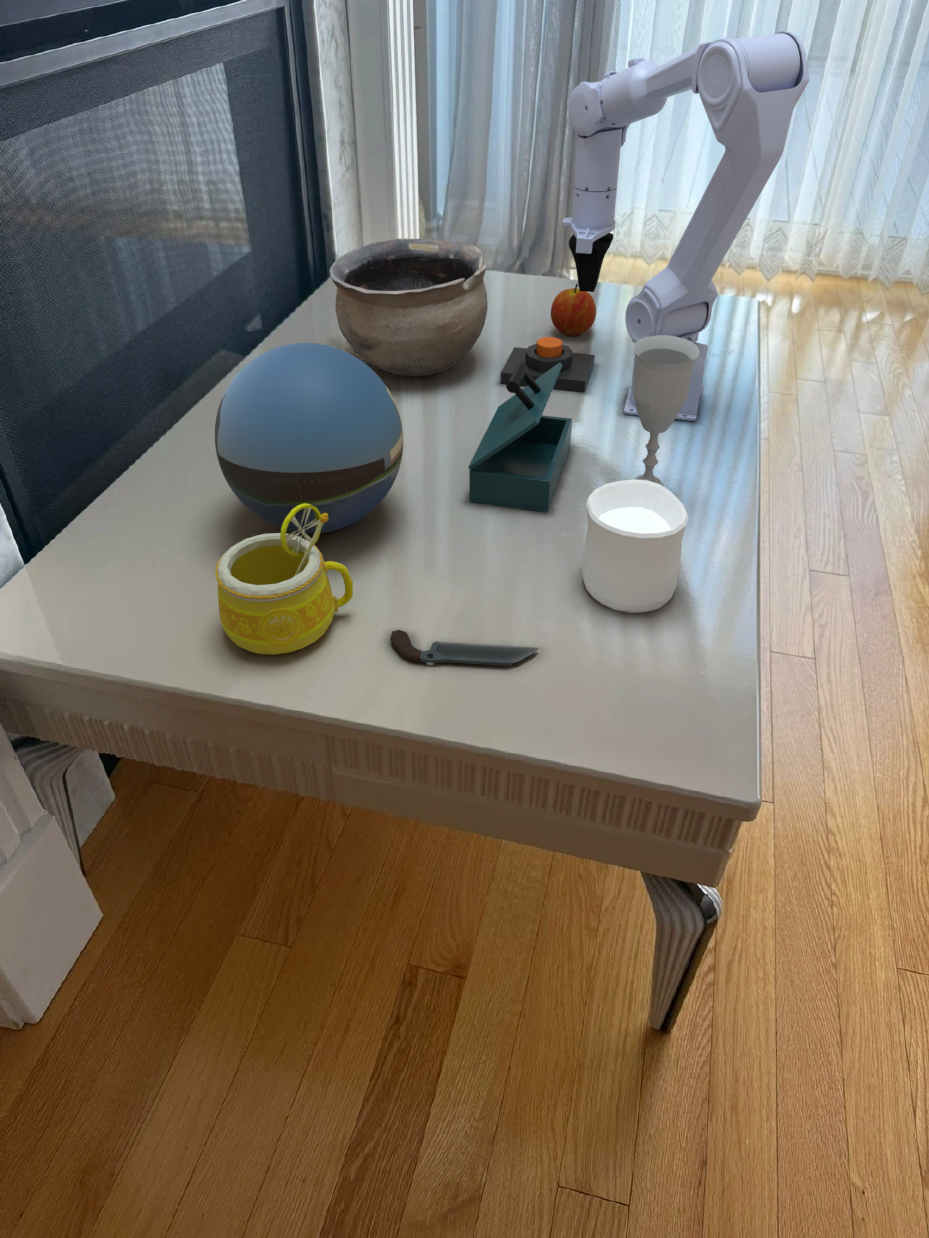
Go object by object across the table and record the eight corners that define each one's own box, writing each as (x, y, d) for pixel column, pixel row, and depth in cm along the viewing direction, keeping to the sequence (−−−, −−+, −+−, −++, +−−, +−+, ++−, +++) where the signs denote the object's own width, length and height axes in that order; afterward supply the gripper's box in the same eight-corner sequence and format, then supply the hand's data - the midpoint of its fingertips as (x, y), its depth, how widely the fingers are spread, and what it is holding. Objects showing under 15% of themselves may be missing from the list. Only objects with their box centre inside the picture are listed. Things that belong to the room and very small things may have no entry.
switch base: (593, 365, 132) (595, 342, 130) (584, 392, 125) (586, 368, 123) (514, 357, 134) (514, 335, 132) (500, 383, 128) (500, 360, 125)
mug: (228, 674, 82) (202, 569, 74) (220, 602, 90) (196, 500, 83) (366, 648, 85) (355, 544, 77) (347, 580, 93) (335, 480, 85)
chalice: (674, 518, 101) (699, 367, 89) (613, 512, 102) (630, 361, 90) (675, 484, 106) (699, 337, 95) (618, 479, 108) (634, 333, 96)
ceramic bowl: (475, 402, 123) (474, 293, 114) (321, 392, 126) (308, 285, 116) (496, 337, 140) (497, 238, 130) (360, 330, 143) (351, 232, 133)
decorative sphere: (207, 563, 95) (165, 388, 83) (264, 469, 110) (236, 308, 97) (388, 578, 93) (373, 399, 80) (421, 479, 108) (413, 316, 95)
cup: (611, 546, 97) (620, 467, 91) (694, 581, 92) (710, 500, 86) (560, 589, 91) (566, 508, 85) (646, 629, 86) (659, 546, 80)
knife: (385, 661, 83) (385, 656, 83) (392, 633, 86) (392, 628, 86) (537, 670, 82) (537, 665, 81) (539, 642, 85) (539, 636, 85)
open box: (570, 448, 113) (572, 418, 111) (547, 512, 102) (549, 481, 100) (498, 439, 115) (499, 410, 113) (469, 502, 104) (469, 471, 101)
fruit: (541, 330, 142) (543, 279, 137) (579, 323, 144) (583, 272, 139) (563, 346, 137) (566, 294, 132) (602, 338, 139) (607, 286, 134)
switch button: (563, 350, 129) (564, 338, 128) (559, 360, 126) (560, 348, 125) (539, 347, 130) (539, 335, 128) (534, 357, 127) (534, 345, 126)
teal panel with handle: (562, 365, 107) (539, 336, 105) (538, 424, 96) (512, 393, 94) (500, 409, 113) (477, 382, 111) (470, 470, 101) (444, 441, 100)
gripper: (574, 170, 124) (567, 270, 133) (555, 200, 114) (550, 306, 122) (625, 173, 123) (615, 274, 132) (611, 203, 112) (601, 310, 121)
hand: (587, 290), depth 127 cm, fingers closed
